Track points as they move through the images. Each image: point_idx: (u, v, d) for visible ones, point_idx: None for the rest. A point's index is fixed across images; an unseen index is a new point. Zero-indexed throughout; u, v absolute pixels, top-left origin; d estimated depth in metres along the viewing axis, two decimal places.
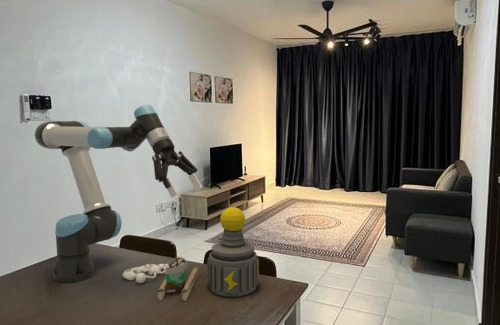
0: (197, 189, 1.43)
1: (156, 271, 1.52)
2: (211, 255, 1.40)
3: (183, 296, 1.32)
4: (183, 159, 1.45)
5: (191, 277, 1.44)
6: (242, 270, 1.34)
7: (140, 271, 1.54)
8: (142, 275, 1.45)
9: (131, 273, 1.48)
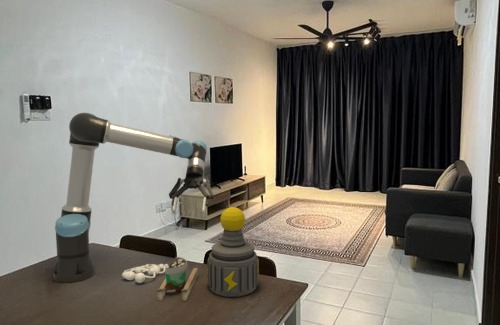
0: (174, 210, 1.61)
1: (155, 271, 1.52)
2: (211, 255, 1.40)
3: (183, 296, 1.32)
4: (179, 186, 1.70)
5: (191, 277, 1.44)
6: (242, 270, 1.34)
7: (140, 271, 1.54)
8: (141, 275, 1.45)
9: (130, 273, 1.48)
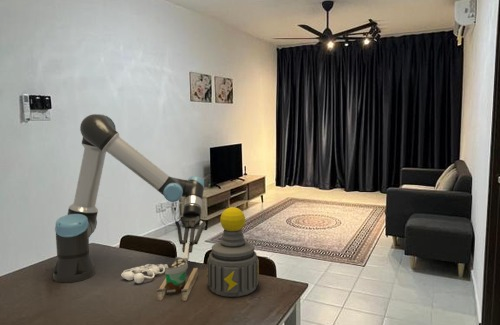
0: None
1: (155, 271, 1.52)
2: (211, 255, 1.40)
3: (183, 296, 1.32)
4: (180, 229, 1.62)
5: (191, 277, 1.44)
6: (242, 270, 1.34)
7: (139, 271, 1.54)
8: (140, 275, 1.45)
9: (129, 273, 1.48)
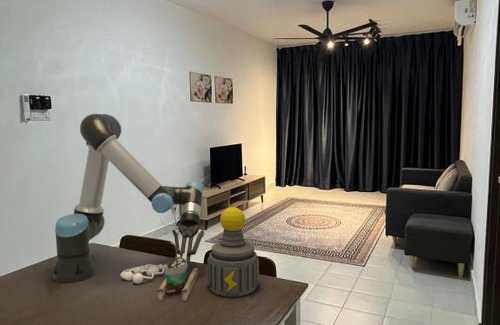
0: None
1: (154, 272, 1.52)
2: (211, 255, 1.40)
3: (183, 296, 1.32)
4: None
5: (191, 277, 1.44)
6: (242, 270, 1.34)
7: (138, 271, 1.54)
8: (139, 275, 1.45)
9: (129, 273, 1.48)
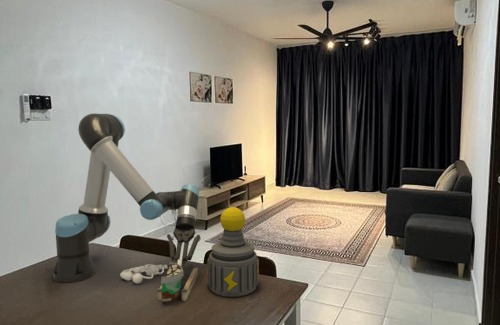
0: None
1: (154, 272, 1.51)
2: (211, 255, 1.40)
3: (183, 296, 1.32)
4: None
5: (191, 277, 1.44)
6: (242, 270, 1.34)
7: (138, 271, 1.54)
8: (138, 275, 1.45)
9: (128, 273, 1.48)
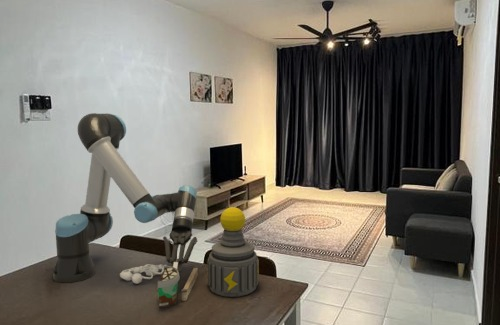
0: None
1: (153, 272, 1.51)
2: (211, 255, 1.40)
3: (183, 296, 1.32)
4: (169, 245, 1.44)
5: (191, 277, 1.44)
6: (242, 270, 1.34)
7: (138, 271, 1.54)
8: (138, 276, 1.45)
9: (128, 273, 1.48)
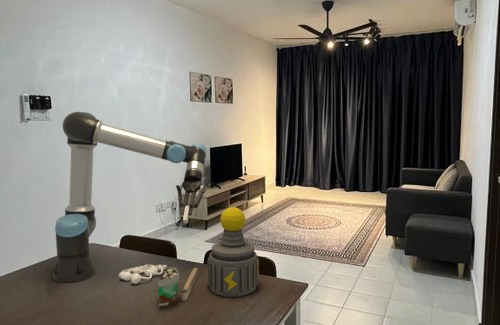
0: None
1: (152, 272, 1.51)
2: (211, 255, 1.40)
3: (183, 296, 1.32)
4: (181, 193, 1.62)
5: (191, 277, 1.44)
6: (242, 270, 1.34)
7: (137, 271, 1.54)
8: (137, 276, 1.44)
9: (127, 273, 1.48)
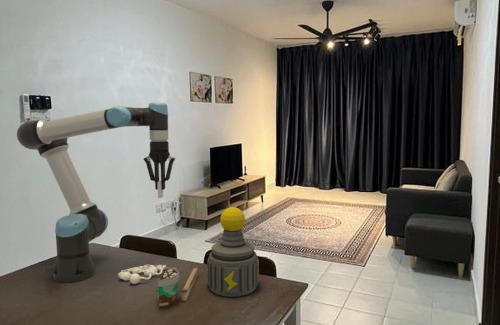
0: None
1: (152, 272, 1.51)
2: (211, 255, 1.40)
3: (183, 296, 1.32)
4: (150, 164, 1.61)
5: (191, 277, 1.44)
6: (242, 270, 1.34)
7: (136, 272, 1.54)
8: (136, 276, 1.44)
9: (126, 273, 1.48)
